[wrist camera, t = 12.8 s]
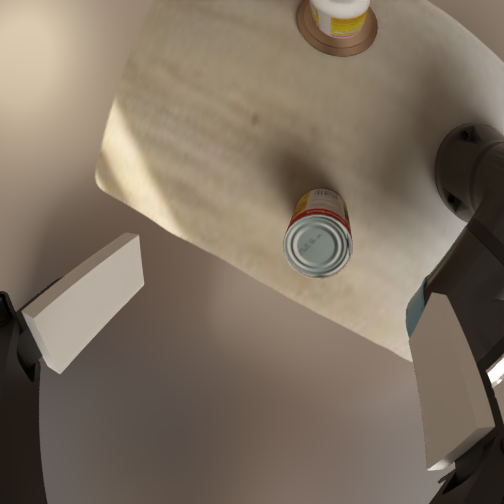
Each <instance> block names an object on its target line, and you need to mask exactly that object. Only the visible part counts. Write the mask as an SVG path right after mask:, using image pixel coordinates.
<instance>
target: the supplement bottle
mask: <svg viewBox="0 0 504 504" xmlns="http://www.w3.org/2000/svg"><path fill="white" fill-rule="evenodd" d="M309 1H310V6H311V10H312V15H313V19H314V22H315V24H316V26H317V27H318V28H319V29H320V30H321V31H322V32H323V33H325V34H326V35H328V36H331V37H334V38H349V37H352V36H354V35H356V34H357V33H358V32H359V31H360V30H361V29H362V26H363V24H364V21H365V18H366V14H367V11H368V8H369V5H370V0H309Z"/></svg>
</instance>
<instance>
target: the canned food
mask: <svg viewBox="0 0 504 504" xmlns="http://www.w3.org/2000/svg"><path fill="white" fill-rule="evenodd" d="M283 250H284V254H285V257H286V260H287V261H288V263H289V264H290V266H291V267H292V268H293V269H294V270H295V271H297V272H298V273H300V274H302V275H303V276H306V277H309V278H313V279H324V278H329V277H332V276H334V275H336V274H338V273H339V272H341V271H342V270H343V269H344V268H345V267H346V266H347V264H348V263H349V261H350V258H351V256H352V250H353V243H352V236H351V229H350V223H349V216H348V211H347V207H346V204H345V202H344V201H343V199H342V198H341V197H340V196H339V195H338V194H336V193H335V192H333V191H331V190H327V189H315V190H311V191H309V192H307V193H306V194H304V195H303V196H302V197H301V198H300V200H299V202H298V203H297V206H296V208H295V211H294V213H293V216H292V219H291V221H290V224H289V226H288V229H287V231H286V234H285V237H284V242H283Z"/></svg>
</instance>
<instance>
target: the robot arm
mask: <svg viewBox="0 0 504 504" xmlns="http://www.w3.org/2000/svg"><path fill="white" fill-rule="evenodd" d="M435 178H436V184H437V188H438V191H439V194H440V196H441V198H442V200H443V202H444V203H445V205H446V206H447V207H448V208H449V210H451V211H452V212H453V213H454V214H455V215H456V216H457V217H458V218H460V219H461V220H463V221H465V222H467V223H468V224H467V225H466V226H465V228H464V229H463V231H462V232H461V234H460V235H459V236H458V238H457V239H456V241H455V242H454V244H453V245H452V246H451V248H450V249H449V250H448V252H447V253H446V255H445V256H444V257H443V258H442V260H441V261H440V262H439V264H438V265H437V266H436V267H435V269H434V270H433V271H432V272H431V273H430V275H428V276H427V277H426V278H425V279H424V280H423V282H422V285H421V287H420V288H419V289H418V291H417V292H416V293H415V294H414V296H413V297H412V298H411V300H410V301H409V303H408V306H407V309H406V328H407V332H408V336H409V345H410V349H411V354H412V359H413V364H414V369H415V375H416V380H417V386H418V392H419V398H420V405H421V413H422V421H423V430H424V440H425V452H426V468H427V470H439V469H445V468H446V467H448V466H449V465H450V464H452V463H453V462H454V461H455V467H456V468H455V469H454V470H453V471H451V472H450V473H448V474H447V475H445V476H444V477H443V478H441V479H440V480H439V481H438V483H441V482H442V481H444V480H446V481H445V482H444V484H443V485H442V486H441V488H440V489H439V491H438V492H437V494H436V495H435V496H434V498H433V499H432V500H431V502H430V503H429V504H504V136H503V135H502V134H501V133H499V132H498V131H497V130H495V129H493V128H491V127H489V126H487V125H483V124H476V123H468V124H464V125H461V126H458V127H457V128H455V129H454V130H452V131H451V132H450V133H449V134H448V135H447V136H446V138H445V139H444V140H443V142H442V144H441V146H440V148H439V151H438V154H437V158H436V164H435ZM143 285H144V279H143V272H142V262H141V254H140V243H139V235H136V234H132V233H124V234H123V235H121V236H120V237H118V238H117V239H116V240H114V241H113V242H111V243H110V244H108V245H107V246H105V247H104V248H103V249H101V250H100V251H98V252H97V253H96V254H94V255H93V256H91V257H90V258H89V259H87V260H86V261H84V262H83V263H82V264H80V265H79V266H78V267H76V268H75V269H74V270H72V271H71V272H70V273H68V274H67V275H66V276H64V277H62V278H59V279H57V280H55V281H54V282H53V283H51V284H50V285H49V286H47V288H45V289H44V290H42V291H41V293H40V294H37V295H36V296H35V297H34V298H32V299H31V300H30V301H29V302H28V303H26V304H25V305H24V306H23V307H22V308H20V309H19V310H18V311H17V312H15V310H14V308H13V305H12V303H11V300H10V298H9V295H8V294H7V293H6V292H4V291H0V504H47V499H46V493H45V487H44V480H43V472H42V463H41V452H40V436H39V386H40V369H41V366H40V362H39V359H40V358H41V357H42V356H43V358H44V360H45V362H46V364H47V366H49V367H50V368H51V369H53V370H54V371H56V372H58V373H59V374H61V373H62V372H63V371H64V369H65V368H66V367H67V366H68V365H69V363H71V361H72V360H73V359H74V358H75V357H76V356H77V355H78V354H79V353H80V352H81V350H82V349H83V348H84V347H85V346H86V345H87V344H88V343H89V342H90V341H91V339H93V337H94V336H95V335H96V334H97V333H98V332H99V331H100V330H101V329H102V328H103V327H104V326H105V325H106V324H107V322H108V321H109V320H110V319H111V318H112V317H113V316H114V315H115V314H116V313H117V312H118V311H119V310H120V309H121V308H122V307H123V306H124V305H125V304H126V303H127V302H128V301H129V300H130V299H131V297H133V296H134V295H135V294H136V293H137V291H138V290H140V288H141V287H142V286H143Z"/></svg>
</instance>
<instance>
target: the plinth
mask: <svg viewBox="0 0 504 504" xmlns="http://www.w3.org/2000/svg"><path fill="white" fill-rule="evenodd" d="M297 21H298V26H299V29H300V31H301V33H302V35H303V37H304V38H305V40H306V41H307V42H308V43H309V44H310V45H311V46H313V47H314V48H316V49H317V50H319V51H321V52H323V53H326V54H329V55H333V56H340V57H346V56H353V55H356V54H359V53H361V52H363V51H365V50H366V49H367V48H368V47H369V46H370V45H371V44H372V43H373V41H374V39H375V37H376V34H377V29H378V26H377V19H376V17H375V14H374V12H373V11H372V9H371V8H370V7H369V8H368V11H367V14H366V18H365V21H364V24H363V26H362V29H361V30H360V31H359V32H358V33H357V34H356V35H354V36H352V37H349V38H334V37H331V36H328V35H326V34H325V33H323V32H322V31H321V30H320V29H319V28H318V27H317V26H316V24H315V22H314V19H313V15H312V10H311V6H310V1H309V0H304V1H303V3H302V4H301V6H300V8H299V10H298V15H297Z"/></svg>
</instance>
